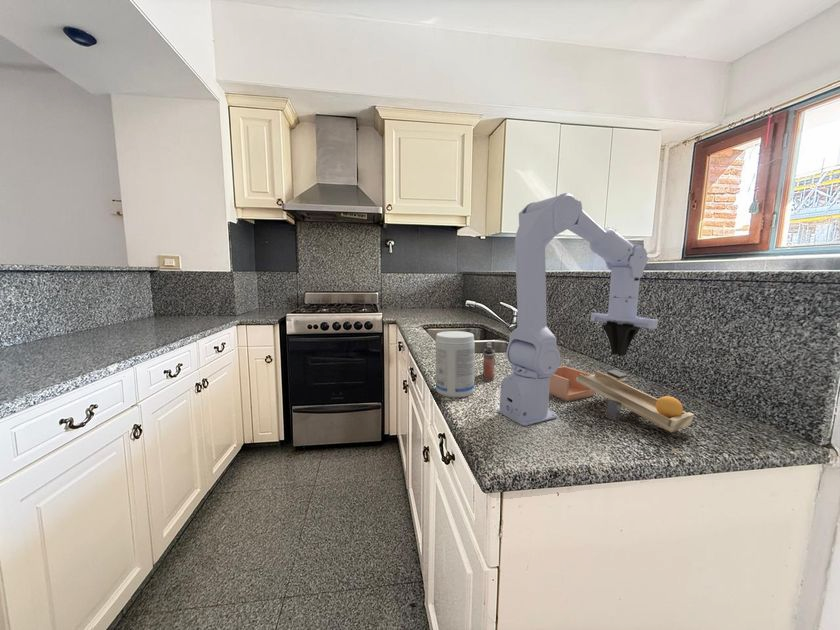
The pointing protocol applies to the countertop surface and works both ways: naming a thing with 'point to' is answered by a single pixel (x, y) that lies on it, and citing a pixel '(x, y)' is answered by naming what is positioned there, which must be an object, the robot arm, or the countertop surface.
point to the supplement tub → (455, 363)
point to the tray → (568, 384)
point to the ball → (669, 406)
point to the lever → (632, 398)
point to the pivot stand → (613, 410)
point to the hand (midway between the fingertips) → (618, 354)
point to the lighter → (488, 362)
